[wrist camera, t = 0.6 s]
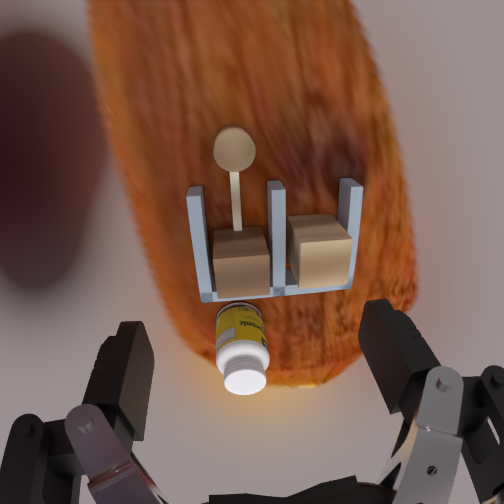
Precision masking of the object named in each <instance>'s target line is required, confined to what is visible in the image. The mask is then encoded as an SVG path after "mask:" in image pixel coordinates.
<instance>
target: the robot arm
mask: <svg viewBox="0 0 504 504" xmlns="http://www.w3.org/2000/svg"><path fill="white" fill-rule="evenodd" d="M358 339H359V345H360V347H361V350H362V352H363V354H364V356H365V358H366V360H367V363H368V365H369V367H370V369H371V371H372V373H373V376H374V378H375V380H376V382H377V384H378V387H379V389H380V391H381V394H382V396H383V398H384V401H385V403H386V405H387V408H388V410H389V412H390V414H394V413H397V412H402V415H403V418H402V420H401V423H400V426H399V429H398V432H397V435H396V438H395V440H394V443H393V446H392V449H391V451H390V454H389V457H388V459H387V462H386V464H385V466H384V467H383V469H382V471H381V473H380V475H379V476H378V478H377V480H376V482H375V484H374V483H367V482H357V479H356V476H355V475H354V476H350V477H346V478H342V479H338V480H333V481H329V482H324V483H320V484H318V485H316V486H313V487H311V488H309V489H306V490H304V491H301V492H299V493H296V494H294V495H291V496H288V497H282V498H281V497H271V496H262V495H254V494H247V493H244V494H226V495H209V502H206V503H202V504H448V501H449V497H450V494H451V490H452V487H453V483H454V479H455V475H456V471H457V466H458V463H459V457H460V453H462V455H463V458H464V460H465V463H466V466H467V468H468V471H469V474H470V476H471V479H472V482H473V484H474V488H475V490H476V493H477V496H478V499H479V502H480V504H504V368H502V367H500V366H495V365H493V366H489V367H487V368H485V370H484V371H483V373H482V374H481V376H475V377H461V376H460V374H459V373H458V372H457V371H455V370H454V369H452V368H450V367H446V366H441V364H440V363H439V361H438V360H437V358H436V357H435V355H434V353H433V352H432V350H431V349H430V347H429V346H428V344H427V343H426V341H425V340H424V338H423V337H422V336H421V334H420V332H419V330H417V329H416V326H415V325H414V323H413V322H412V320H411V319H410V317H408V316H407V315H406V314H404V313H403V312H402V311H400V310H394V308H393V307H392V305H391V304H390V302H389V301H388V300H387V299H385V298H384V299H378V300H371V301H367V302H366V303H365V305H364V310H363V314H362V319H361V323H360V327H359V332H358ZM153 370H154V354H153V350H152V347H151V344H150V341H149V339H148V335H147V333H146V330H145V327H144V324H143V323H142V321H125V322H121V323H120V325H119V328H118V331H117V334H116V336H109V337H108V338H107V339H106V340H105V342H104V343H103V344H102V345H101V347H100V349H99V352H98V355H97V360H96V361H95V364H94V369H93V370H92V373H91V376H90V379H89V382H88V385H87V389H86V392H85V395H84V399H83V402H82V404H81V405H79V406H77V407H75V408H73V409H72V410H71V411H70V412H69V413H68V415H67V416H66V418H65V419H61V420H55V421H50V422H44V423H43V422H42V421H41V419H40V418H39V417H38V416H36V415H34V414H24V415H22V416H20V417H18V418H17V419H16V420H15V421H14V423H13V425H12V427H11V430H10V434H9V437H8V441H7V444H6V448H5V452H4V456H3V460H2V464H1V468H0V504H79V494H80V484H81V475H87V477H88V479H89V483H88V484H87V485H88V489H89V491H90V493H91V495H92V497H93V499H94V500H95V502H96V504H172V502H171V501H170V500H169V499H168V498H167V497H166V496H165V495H164V493H163V492H162V491H161V490H160V489H159V487H158V486H157V485H156V483H154V481H153V480H152V478H151V477H150V476H149V474H148V473H147V471H146V470H145V469H144V467H143V466H142V465H141V463H140V462H139V460H138V459H137V458H136V456H135V454H134V453H133V451H132V445H133V441H143V440H144V431H145V424H146V415H147V409H148V402H149V396H150V389H151V383H152V376H153ZM489 418H490V420H491V422H492V424H493V426H494V428H495V430H496V432H497V434H498V436H499V440H500V444H499V445H498V442H497V440H496V438H495V436H494V434H493V432H492V429H491V427H490V425H489V423H488V421H487V420H488V419H489Z"/></svg>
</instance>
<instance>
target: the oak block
mask: <svg viewBox="0 0 504 504" xmlns="http://www.w3.org/2000/svg"><path fill="white" fill-rule="evenodd" d="M352 242H353V239H352V237H351V236H350V235H349V234H348V233H347V231H346V230H345V229H344V228H343V227H342V226H341V224H340V223H339V222H338V221H337V220H336V218H335V217H334V216H333V215H332V214H314V215H297V216H287V259H288V262H289V264H290V267H291V270H292V272H293V275H294V278H295V280H296V283H297V286H298V288H299V289H308V288H318V287H327V286H336V285H344V284H347V282H348V275H349V267H350V259H351V251H352Z"/></svg>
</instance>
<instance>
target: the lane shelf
mask: <svg viewBox="0 0 504 504" xmlns="http://www.w3.org/2000/svg"><path fill="white" fill-rule="evenodd" d="M362 195H363V186H361V185H360V184H358V183H357V182H356V181H354V180H353V179H351V178H340V184H339V203H338V218H337V221H338V222H339V223H340V224H341V226H342V227H343V228H344V229H345V230H346V231H347V233H348V234H349V235H350V236H351V237H352V239H353V242H352V251H351V259H350V267H349V275H348V282H347V284H344V285H336V286H327V287H318V288H308V289H299V288H298V286H297V283H296V280H295V278H294V275H293V272H292V270H291V269H287V270H285V262H286V189H285V188H284V186H283V185H282V183H281V182H280V180H277V181H267V203H268V245H269V256H270V295H261V296H249V297H238V298H225V299H218V297H217V289H216V281H215V276H213V275H212V267H211V259H210V251H209V243H208V234H207V225H206V216H205V207H204V197H203V187H202V186H195V187H189V190H188V193H187V196H186V199H187V207H188V215H189V223H190V230H191V237H192V245H193V251H194V258H195V265H196V271H197V278H198V284H199V290H200V296H201V302H202V303H204V302H218V301H231V300H243V299H254V298H265V297H276V296H286V295H296V294H306V293H315V292H324V291H332V290H341V289H349V288H352V282H353V275H354V268H355V261H356V253H357V245H358V236H359V227H360V217H361V207H362Z"/></svg>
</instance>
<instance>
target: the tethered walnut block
mask: <svg viewBox="0 0 504 504" xmlns="http://www.w3.org/2000/svg"><path fill="white" fill-rule="evenodd" d="M213 154H214V159H215V161H216V163H217V164H218V165H219V166H220V167H221V168H222V169H224V170H226V171H229V172H230V186H231V200H232V214H233V228H224V229H214V243H213V265H214V273H215V281H216V289H217V297H218V299H225V298H238V297H249V296H261V295H270V256H269V251H268V248H267V244H266V241H265V238H264V234H263V231H262V227H261V226H249V227H242V220H241V203H240V186H239V171H242V170H244V169H246V168H248V167H249V166H250V165H251V164H252V162H253V160H254V158H255V154H256V150H255V145H254V143H253V141H252V139H251V138H250V137H249V135H248V134H247V132H246V131H245V130H244V129H243V128H242V127H240V126H238V125H227V126H224V127H223V128H221V129H220V130H219V131H218V133H217V135H216V138H215V144H214V150H213Z"/></svg>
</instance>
